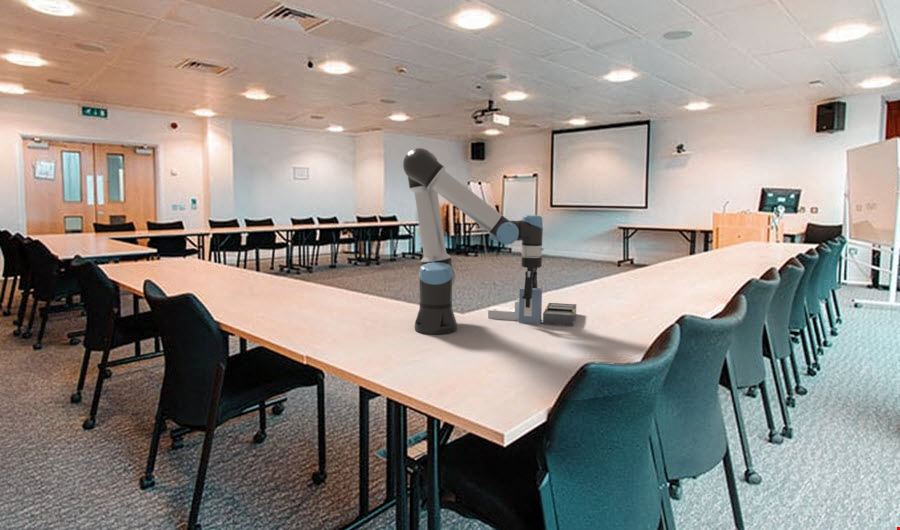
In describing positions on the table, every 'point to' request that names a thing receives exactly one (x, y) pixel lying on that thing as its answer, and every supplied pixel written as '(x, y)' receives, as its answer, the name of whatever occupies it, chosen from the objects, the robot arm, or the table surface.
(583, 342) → the table surface
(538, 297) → the panel
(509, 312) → the bracket
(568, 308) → the rack
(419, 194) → the robot arm
